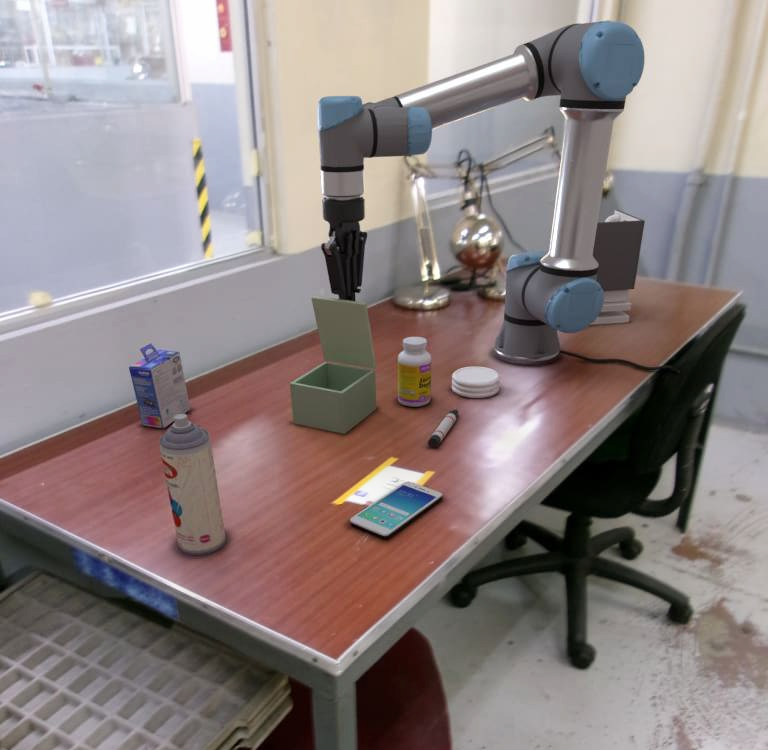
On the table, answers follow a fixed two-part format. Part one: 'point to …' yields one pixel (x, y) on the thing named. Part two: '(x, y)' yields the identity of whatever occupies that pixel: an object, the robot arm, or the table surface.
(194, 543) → the aerosol can
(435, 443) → the marker
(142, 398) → the ink cartridge box
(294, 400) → the chest
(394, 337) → the table surface
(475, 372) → the coaster
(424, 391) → the supplement bottle
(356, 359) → the lid
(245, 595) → the table surface
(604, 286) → the stack of books
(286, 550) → the table surface
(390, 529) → the smartphone
